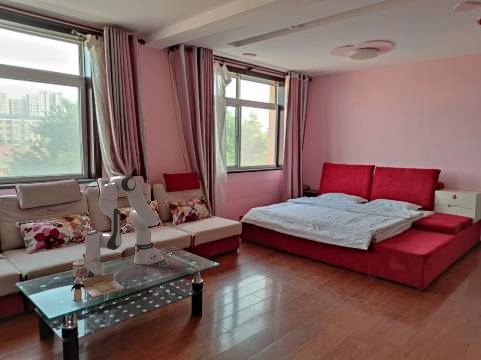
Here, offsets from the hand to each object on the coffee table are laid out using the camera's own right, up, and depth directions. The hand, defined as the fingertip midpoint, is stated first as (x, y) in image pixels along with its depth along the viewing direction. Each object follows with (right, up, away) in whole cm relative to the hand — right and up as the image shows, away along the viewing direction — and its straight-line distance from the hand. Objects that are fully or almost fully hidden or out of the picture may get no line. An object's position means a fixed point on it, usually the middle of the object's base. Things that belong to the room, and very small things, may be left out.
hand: (93, 277), depth 217 cm
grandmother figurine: (+3, -5, -25) cm, 26 cm away
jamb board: (+6, -3, -5) cm, 8 cm away
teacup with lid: (-11, -2, +10) cm, 15 cm away
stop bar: (0, -2, 0) cm, 2 cm away
